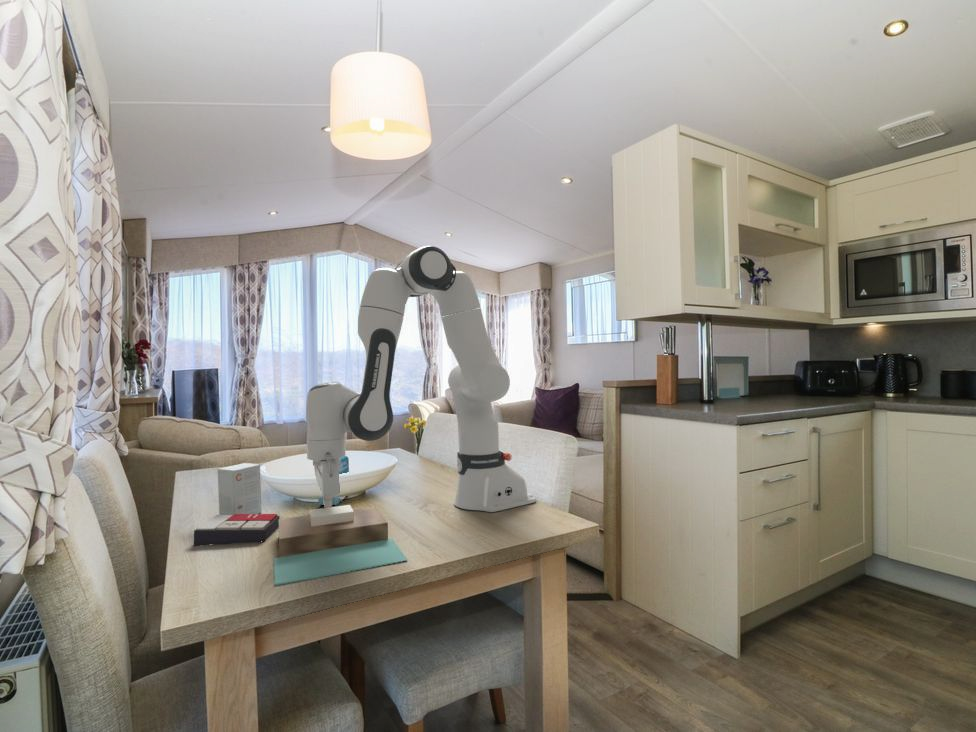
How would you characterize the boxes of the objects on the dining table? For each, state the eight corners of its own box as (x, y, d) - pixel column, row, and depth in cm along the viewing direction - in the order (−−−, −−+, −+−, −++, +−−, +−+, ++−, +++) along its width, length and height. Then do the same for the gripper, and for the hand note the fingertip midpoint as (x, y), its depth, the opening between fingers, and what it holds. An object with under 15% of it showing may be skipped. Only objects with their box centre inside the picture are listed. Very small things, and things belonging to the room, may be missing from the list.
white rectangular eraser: (350, 513, 116) (349, 504, 116) (353, 520, 111) (353, 511, 111) (309, 518, 113) (309, 510, 113) (311, 526, 107) (311, 517, 107)
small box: (246, 510, 134) (244, 462, 134) (262, 513, 132) (260, 464, 131) (218, 519, 127) (216, 468, 127) (234, 522, 124) (233, 470, 124)
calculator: (264, 527, 110) (193, 527, 108) (263, 546, 110) (192, 547, 108) (280, 512, 121) (215, 512, 119) (279, 529, 121) (215, 530, 119)
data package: (334, 507, 136) (333, 463, 135) (318, 507, 136) (317, 463, 136) (349, 495, 148) (348, 455, 147) (335, 495, 148) (334, 455, 148)
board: (375, 522, 122) (375, 506, 122) (388, 540, 109) (387, 522, 109) (278, 536, 113) (278, 519, 113) (279, 558, 100) (279, 539, 100)
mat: (392, 539, 109) (392, 538, 109) (407, 561, 97) (407, 559, 97) (274, 559, 100) (274, 558, 100) (274, 585, 88) (274, 584, 88)
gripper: (345, 455, 111) (347, 517, 111) (335, 442, 129) (336, 495, 129) (315, 458, 108) (317, 521, 108) (309, 444, 127) (310, 498, 127)
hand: (327, 507), depth 119 cm, fingers closed
